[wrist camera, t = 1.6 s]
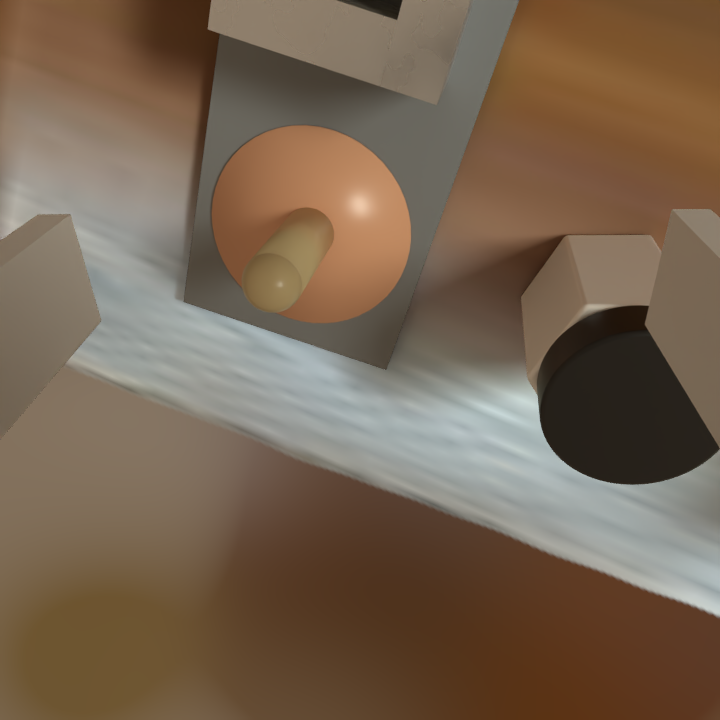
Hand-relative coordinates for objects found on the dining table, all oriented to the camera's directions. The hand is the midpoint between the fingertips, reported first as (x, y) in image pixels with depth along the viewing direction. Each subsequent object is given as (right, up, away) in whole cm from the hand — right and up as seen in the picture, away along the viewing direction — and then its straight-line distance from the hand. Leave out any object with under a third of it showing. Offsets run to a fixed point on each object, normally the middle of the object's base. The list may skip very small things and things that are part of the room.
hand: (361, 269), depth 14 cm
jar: (+14, +2, +23) cm, 27 cm away
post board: (-1, +12, +20) cm, 23 cm away
